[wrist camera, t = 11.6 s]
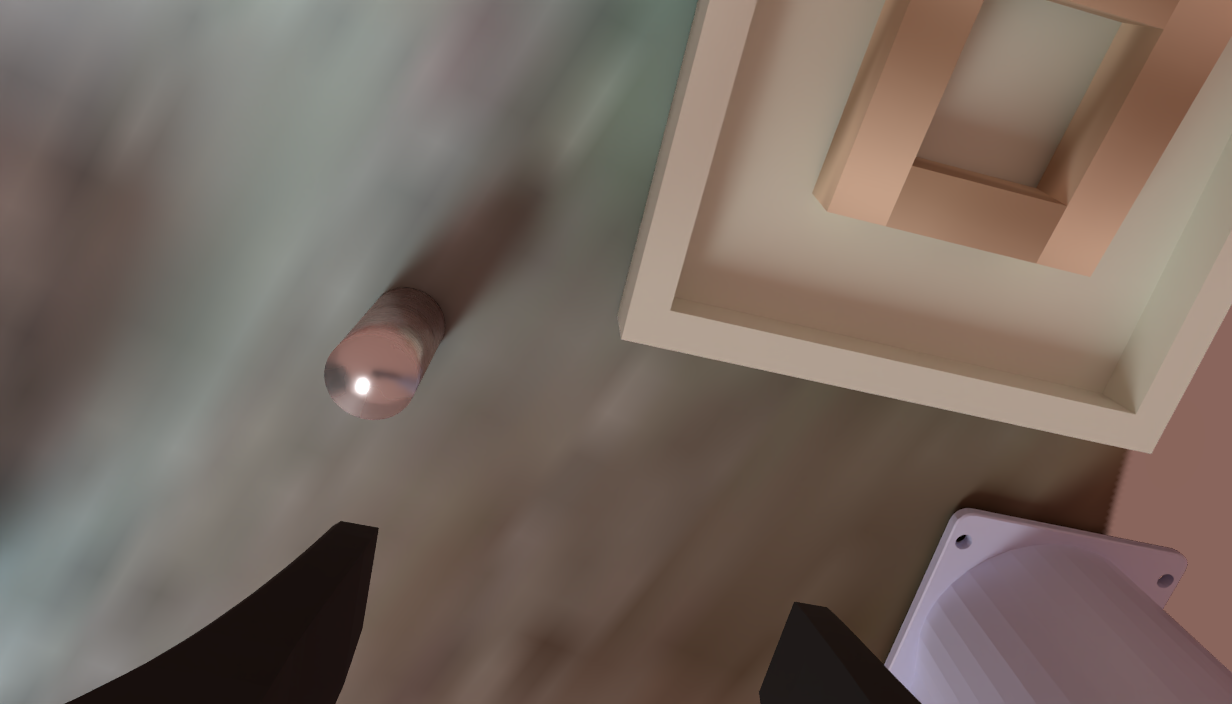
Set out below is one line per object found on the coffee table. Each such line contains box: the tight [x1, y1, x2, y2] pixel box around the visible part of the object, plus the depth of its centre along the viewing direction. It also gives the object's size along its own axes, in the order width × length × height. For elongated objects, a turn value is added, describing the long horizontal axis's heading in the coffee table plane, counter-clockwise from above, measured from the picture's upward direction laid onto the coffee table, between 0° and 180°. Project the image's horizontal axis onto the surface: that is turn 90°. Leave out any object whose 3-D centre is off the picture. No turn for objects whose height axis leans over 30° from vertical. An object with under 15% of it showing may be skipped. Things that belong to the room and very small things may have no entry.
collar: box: [812, 0, 1232, 277], centre depth 16 cm, size 10×7×4 cm
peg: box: [324, 288, 445, 420], centre depth 19 cm, size 2×2×4 cm
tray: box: [617, 0, 1232, 454], centre depth 18 cm, size 15×15×2 cm
